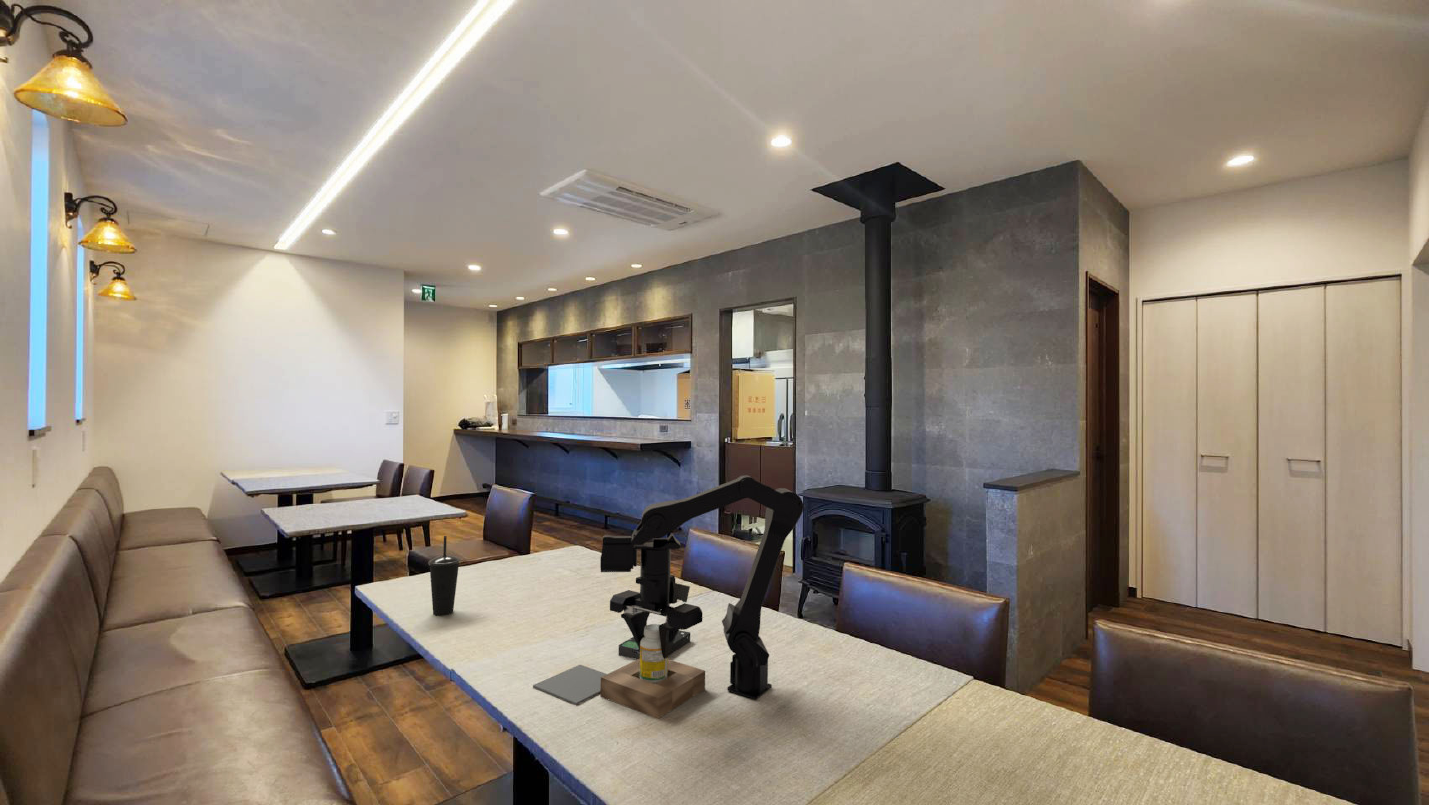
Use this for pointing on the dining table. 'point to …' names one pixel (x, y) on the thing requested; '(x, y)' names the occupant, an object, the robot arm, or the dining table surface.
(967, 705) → the dining table surface
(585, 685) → the rubber mat
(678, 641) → the disk drive
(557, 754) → the dining table surface
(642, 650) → the supplement bottle
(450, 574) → the drinking cup
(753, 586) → the robot arm
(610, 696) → the socket block
